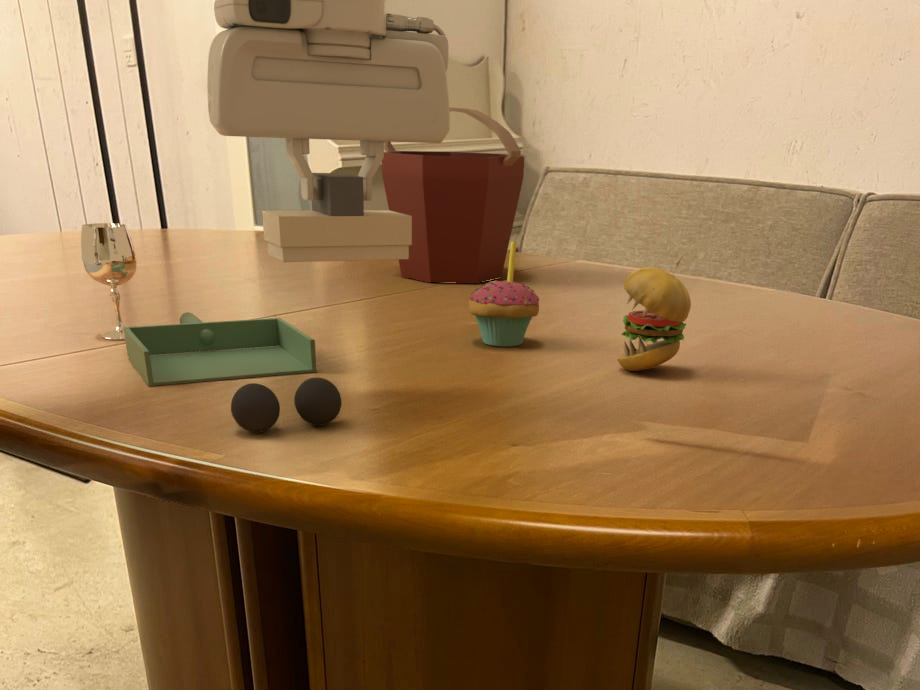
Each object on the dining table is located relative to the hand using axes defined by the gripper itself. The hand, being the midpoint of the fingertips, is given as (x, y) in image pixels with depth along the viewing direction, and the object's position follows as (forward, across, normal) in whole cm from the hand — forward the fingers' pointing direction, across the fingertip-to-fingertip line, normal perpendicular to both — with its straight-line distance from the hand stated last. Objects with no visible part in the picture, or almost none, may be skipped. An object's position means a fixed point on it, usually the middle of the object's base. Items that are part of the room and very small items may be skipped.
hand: (336, 200), depth 80 cm
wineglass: (+18, +15, -35) cm, 42 cm away
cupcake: (+17, -26, -16) cm, 35 cm away
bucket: (+17, -44, -67) cm, 82 cm away
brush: (+5, 0, 0) cm, 5 cm away
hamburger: (+17, -35, +2) cm, 39 cm away
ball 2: (+15, +5, +8) cm, 18 cm away
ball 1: (+15, +10, +8) cm, 20 cm away
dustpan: (+17, +8, -22) cm, 29 cm away
